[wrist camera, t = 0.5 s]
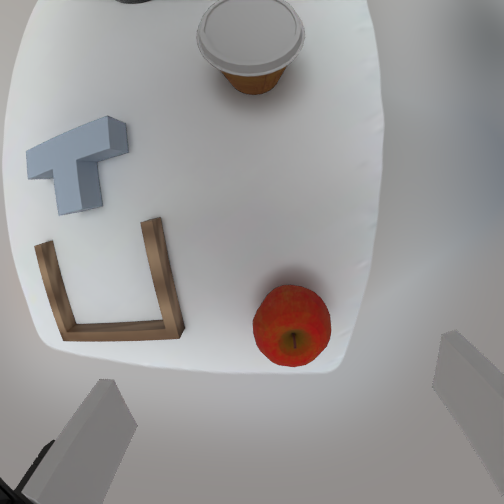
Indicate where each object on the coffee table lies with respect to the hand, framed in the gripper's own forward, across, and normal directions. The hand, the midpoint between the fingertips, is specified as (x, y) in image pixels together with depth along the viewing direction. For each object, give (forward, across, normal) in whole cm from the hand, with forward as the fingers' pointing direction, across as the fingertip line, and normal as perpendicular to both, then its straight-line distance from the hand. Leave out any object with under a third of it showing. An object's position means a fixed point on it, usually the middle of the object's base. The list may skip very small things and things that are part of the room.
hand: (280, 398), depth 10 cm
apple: (+26, +1, -8) cm, 28 cm away
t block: (+26, -22, +14) cm, 37 cm away
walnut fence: (+26, -23, -1) cm, 35 cm away
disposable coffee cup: (+27, +2, +21) cm, 34 cm away
